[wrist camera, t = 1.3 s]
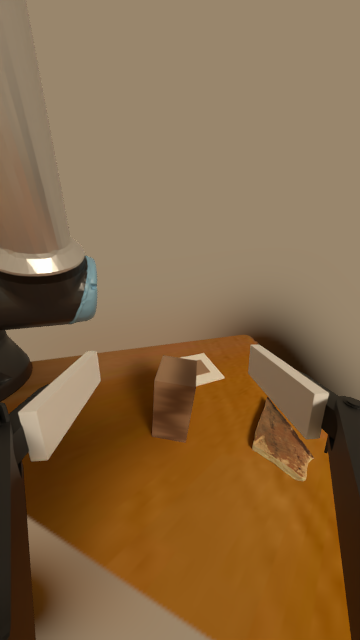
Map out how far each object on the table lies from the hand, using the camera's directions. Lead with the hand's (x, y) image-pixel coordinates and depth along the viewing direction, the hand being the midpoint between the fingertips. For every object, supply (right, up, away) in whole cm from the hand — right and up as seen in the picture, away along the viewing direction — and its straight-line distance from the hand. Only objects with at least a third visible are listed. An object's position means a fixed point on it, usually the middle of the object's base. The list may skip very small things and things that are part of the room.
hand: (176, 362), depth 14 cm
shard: (+14, -15, +13) cm, 25 cm away
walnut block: (-1, -13, +13) cm, 18 cm away
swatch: (+4, -8, +25) cm, 26 cm away
